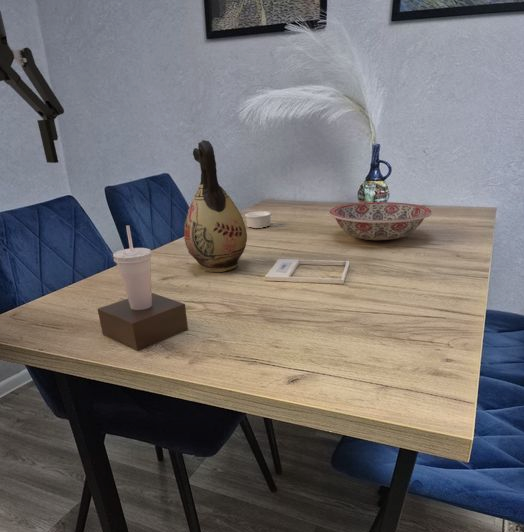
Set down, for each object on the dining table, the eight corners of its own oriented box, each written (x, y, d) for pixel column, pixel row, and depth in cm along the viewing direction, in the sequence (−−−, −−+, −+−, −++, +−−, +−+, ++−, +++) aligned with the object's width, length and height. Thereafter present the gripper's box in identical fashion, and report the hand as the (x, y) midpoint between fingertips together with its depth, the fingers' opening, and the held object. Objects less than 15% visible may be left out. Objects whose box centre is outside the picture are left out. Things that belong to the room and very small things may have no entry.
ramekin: (245, 229, 158) (244, 216, 156) (246, 224, 166) (245, 211, 164) (271, 228, 158) (271, 215, 156) (271, 223, 166) (270, 210, 164)
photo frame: (278, 258, 121) (349, 260, 117) (279, 262, 121) (349, 264, 117) (264, 275, 108) (343, 278, 104) (265, 280, 109) (343, 283, 105)
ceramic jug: (184, 262, 125) (170, 139, 112) (241, 256, 128) (234, 136, 115) (192, 281, 110) (177, 142, 97) (256, 274, 114) (249, 138, 100)
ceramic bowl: (335, 226, 157) (336, 201, 153) (427, 228, 150) (430, 202, 146) (321, 249, 132) (321, 220, 129) (430, 252, 125) (434, 221, 121)
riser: (102, 334, 86) (97, 308, 83) (152, 315, 93) (148, 291, 90) (137, 350, 79) (132, 323, 77) (188, 329, 86) (185, 303, 84)
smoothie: (157, 297, 87) (145, 220, 81) (161, 309, 82) (149, 228, 75) (121, 302, 85) (107, 224, 79) (123, 315, 80) (108, 232, 74)
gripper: (-133, -13, 56) (-69, 176, 65) (66, 10, 72) (94, 159, 81) (-146, -2, 60) (-84, 174, 70) (44, 18, 76) (73, 158, 86)
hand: (12, 166), depth 76 cm, fingers open, 13 cm apart
